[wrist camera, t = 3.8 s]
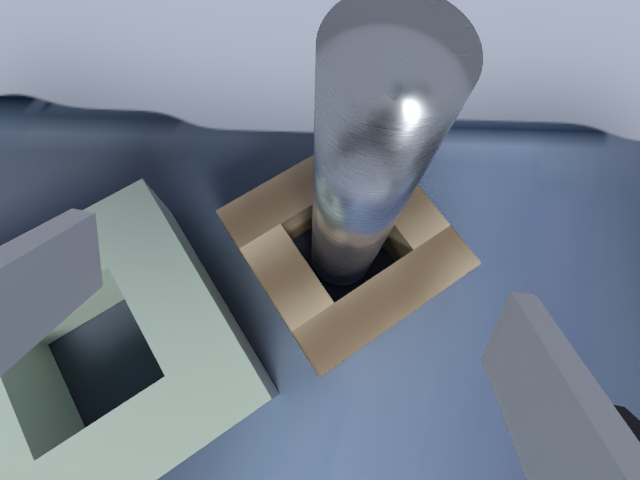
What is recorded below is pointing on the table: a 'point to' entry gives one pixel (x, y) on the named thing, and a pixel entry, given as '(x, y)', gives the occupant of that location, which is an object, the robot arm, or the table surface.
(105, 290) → the sage rack
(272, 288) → the maple sleeve
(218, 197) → the table surface
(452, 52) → the cylinder
